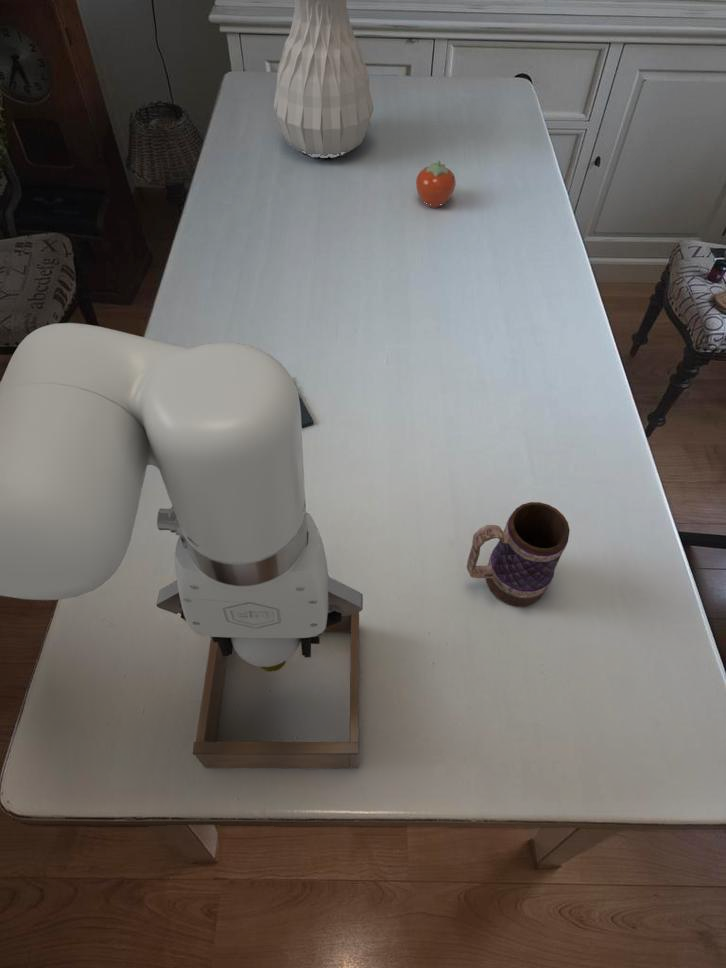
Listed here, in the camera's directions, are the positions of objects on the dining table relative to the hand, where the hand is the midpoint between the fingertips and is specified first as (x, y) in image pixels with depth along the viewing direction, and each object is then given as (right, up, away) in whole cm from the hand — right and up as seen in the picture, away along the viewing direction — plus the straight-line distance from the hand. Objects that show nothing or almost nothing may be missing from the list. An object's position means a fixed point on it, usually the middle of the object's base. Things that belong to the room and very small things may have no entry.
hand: (268, 639), depth 53 cm
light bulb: (0, -3, +4) cm, 5 cm away
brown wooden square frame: (0, -8, +11) cm, 14 cm away
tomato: (+22, +67, +67) cm, 98 cm away
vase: (0, +84, +79) cm, 116 cm away
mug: (+24, +2, +19) cm, 31 cm away
